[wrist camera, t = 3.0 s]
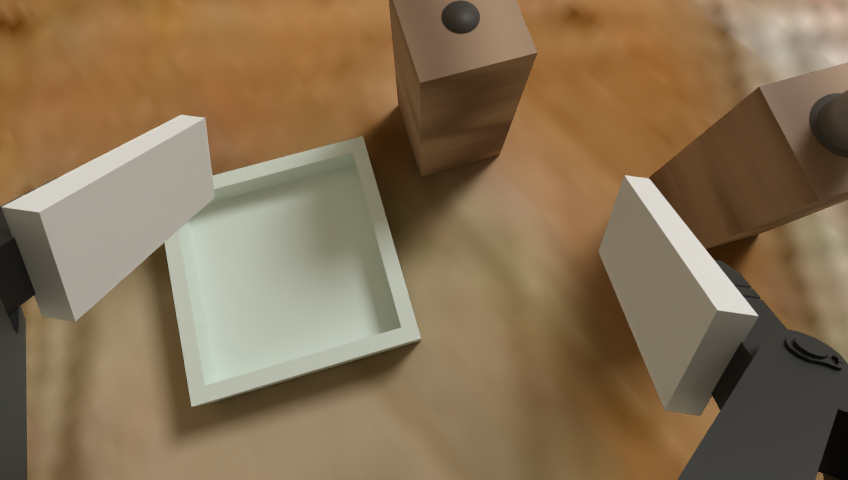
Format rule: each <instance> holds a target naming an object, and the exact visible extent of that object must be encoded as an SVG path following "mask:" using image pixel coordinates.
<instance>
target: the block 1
mask: <svg viewBox="0 0 848 480" xmlns="http://www.w3.org/2000/svg"><path fill="white" fill-rule="evenodd" d="M389 7H390V18H391V29H392V40H393V51H394V62H395V73H396V84H397V95H398V105H399V108H400V112H401V115H402V118H403V121H404V124H405V128H406V131H407V134H408V137H409V141H410V144H411V147H412V150H413V153H414V157H415V160H416V163H417V166H418V169H419V173H420V176H425V175H429V174H432V173H436V172H440V171H443V170H447V169H451V168H454V167H458V166H462V165H465V164H469V163H473V162H476V161H480V160H484V159H487V158H491V157H495V156H498V155H500V152H501V150H502V147H503V144H504V142H505V139H506V136H507V133H508V131H509V128H510V125H511V123H512V120H513V117H514V115H515V112H516V109H517V106H518V104H519V101H520V98H521V96H522V93H523V90H524V87H525V85H526V82H527V79H528V77H529V74H530V71H531V69H532V66H533V63H534V60H535V58H536V55H537V50H536V48H535V45H534V43H533V41H532V38H531V36H530V33H529V31H528V28H527V26H526V23H525V21H524V18H523V16H522V13H521V11H520V8H519V6H518V3H517V1H516V0H389Z"/></svg>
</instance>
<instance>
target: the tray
mask: <svg viewBox="0 0 848 480" xmlns="http://www.w3.org/2000/svg"><path fill="white" fill-rule="evenodd" d="M212 177H213V186H214V194H215V198H214V199H212V200H211V201H210V202H209V203H208V204H207V205H206V206H205V207H203V208H202V209H201V210H200V211H199V212H198V213H197V214H196V215H194V216H193V217H192V218H191V219H190V220H189V221H188V222H187V223H185V224H184V225H183V226H182V227H181V228H180V229H179V230H178V231H177V232H175V233H174V234H173V235H172V236H171V237H170V238H169V239H168V240H166V241H165V242H164V243H165V249H166V255H167V261H168V267H169V273H170V279H171V285H172V291H173V298H174V304H175V310H176V316H177V322H178V328H179V334H180V340H181V346H182V352H183V358H184V364H185V370H186V377H187V383H188V389H189V395H190V401H191V407H194V406H199V405H205V404H210V403H214V402H218V401H221V400H224V399H228V398H231V397H234V396H238V395H241V394H244V393H248V392H251V391H254V390H258V389H261V388H264V387H268V386H271V385H275V384H278V383H281V382H285V381H288V380H291V379H295V378H298V377H301V376H305V375H308V374H311V373H315V372H318V371H321V370H325V369H328V368H331V367H335V366H338V365H341V364H345V363H348V362H351V361H355V360H358V359H361V358H365V357H368V356H371V355H375V354H378V353H381V352H385V351H388V350H392V349H395V348H398V347H402V346H405V345H408V344H412V343H415V342H418V341H421V337H420V334H419V330H418V327H417V323H416V320H415V316H414V313H413V309H412V306H411V302H410V299H409V295H408V292H407V288H406V285H405V281H404V278H403V274H402V271H401V267H400V264H399V260H398V257H397V253H396V250H395V246H394V243H393V239H392V236H391V232H390V229H389V225H388V222H387V218H386V215H385V211H384V208H383V204H382V201H381V197H380V194H379V190H378V187H377V183H376V180H375V176H374V173H373V169H372V166H371V162H370V159H369V155H368V152H367V148H366V145H365V141H364V138H363V136H361V137H357V138H354V139H350V140H346V141H342V142H338V143H335V144H331V145H327V146H323V147H320V148H316V149H312V150H308V151H304V152H301V153H297V154H293V155H289V156H285V157H282V158H278V159H274V160H270V161H267V162H263V163H259V164H255V165H251V166H248V167H244V168H240V169H236V170H232V171H229V172H225V173H221V174H217V175H214V176H212Z"/></svg>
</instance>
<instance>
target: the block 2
mask: <svg viewBox="0 0 848 480" xmlns="http://www.w3.org/2000/svg"><path fill="white" fill-rule="evenodd" d="M648 179H650V180H651V181H652V182H653V184H654V185H655V186H656V188H657V189H658V190H659V191H660V193H661V194H662V195H663V196H664V198H665V199H666V200H667V201H668V203H669V204H670V205H671V206H672V208H673V209H674V210H675V211H676V213H677V214H678V215H679V216H680V218H681V219H682V220H683V221H684V223H685V224H686V225H687V227H688V228H689V229H690V230H691V232H692V233H693V234H694V235H695V237H696V238H697V239H698V240H699V242H700V243H701V244H702V245H703V247H704V248H705V249H706V250H707V249H711V248H714V247H717V246H721V245H724V244H727V243H731V242H734V241H738V240H741V239H744V238H748V237H751V236H754V235H758V234H761V233H763V232H766V231H768V230H771V229H774V228H776V227H779V226H781V225H784V224H786V223H789V222H792V221H794V220H797V219H799V218H802V217H804V216H807V215H810V214H812V213H815V212H817V211H820V210H823V209H825V208H828V207H830V206H833V205H835V204H838V203H841V202H843V201H846V200H848V63H844V64H841V65H837V66H833V67H830V68H826V69H822V70H819V71H815V72H811V73H808V74H804V75H800V76H797V77H793V78H789V79H786V80H782V81H778V82H775V83H771V84H767V85H764V86H760V87H758V88H757V89H756V90H755V91H753V92H752V93H751V94H750V95H749V96H747V97H746V98H745V99H744V100H743V101H741V102H740V103H739V104H738V105H737V106H735V107H734V108H733V109H732V110H730V111H729V112H728V113H727V114H726V115H724V116H723V117H722V118H721V119H720V120H718V121H717V122H716V123H715V124H713V125H712V126H711V127H710V128H709V129H707V130H706V131H705V132H704V133H703V134H701V135H700V136H699V137H698V138H696V139H695V140H694V141H693V142H692V143H690V144H689V145H688V146H687V147H686V148H684V149H683V150H682V151H681V152H680V153H678V154H677V155H676V156H675V157H673V158H672V159H671V160H670V161H669V162H667V163H666V164H665V165H664V166H663V167H661V168H660V169H659V170H658V171H656V172H655V173H654V174H653V175H652V176H650V177H649V178H648Z"/></svg>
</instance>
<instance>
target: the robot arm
mask: <svg viewBox="0 0 848 480" xmlns="http://www.w3.org/2000/svg"><path fill="white" fill-rule="evenodd" d="M214 198H215V194H214V186H213V177H212V169H211V161H210V153H209V145H208V137H207V129H206V121H205V118H202V117H194V116H187V115H180V116H178V117H176V118H174V119H172V120H170V121H168V122H166V123H164V124H162V125H160V126H158V127H156V128H154V129H153V130H151V131H149V132H147V133H145V134H143V135H141V136H139V137H137V138H135V139H133V140H131V141H129V142H127V143H125V144H123V145H121V146H119V147H117V148H115V149H113V150H112V151H110V152H108V153H106V154H104V155H102V156H100V157H98V158H96V159H94V160H92V161H90V162H88V163H86V164H84V165H82V166H80V167H78V168H76V169H74V170H72V171H71V172H69V173H67V174H65V175H63V176H61V177H58V178H55V179H53V180H51V181H49V182H47V183H46V184H44V185H42V186H40V187H39V188H37V189H34V190H32V191H30V192H28V193H26V194H25V195H24V196H20V197H18V198H16V199H14V200H12V201H10V202H8V203H6V204H4V205H2V206H0V480H27V414H26V325H25V317H24V314H23V312H22V309H21V307H20V305H22V304H23V303H24V302H26V301H27V300H28V299H30V298H31V297H32V296H35V298H36V301H37V304H38V306H39V309H40V312H41V314H42V317H48V318H55V319H62V320H68V321H75V322H76V321H77V320H78V319H79V318H80V317H81V316H82V315H83V314H85V313H86V312H87V311H88V310H89V309H90V308H91V307H92V306H94V305H95V304H96V303H97V302H98V301H99V300H100V299H101V298H102V297H104V296H105V295H106V294H107V293H108V292H109V291H110V290H111V289H113V288H114V287H115V286H116V285H117V284H118V283H119V282H120V281H122V280H123V279H124V278H125V277H126V276H127V275H128V274H129V273H131V272H132V271H133V270H134V269H135V268H136V267H137V266H138V265H140V264H141V263H142V262H143V261H144V260H145V259H146V258H147V257H148V256H150V255H151V254H152V253H153V252H154V251H155V250H156V249H157V248H159V247H160V246H161V245H162V244H163V243H164V242H165V241H166V240H168V239H169V238H170V237H171V236H172V235H173V234H174V233H175V232H177V231H178V230H179V229H180V228H181V227H182V226H183V225H184V224H185V223H187V222H188V221H189V220H190V219H191V218H192V217H193V216H194V215H196V214H197V213H198V212H199V211H200V210H201V209H202V208H203V207H205V206H206V205H207V204H208V203H209V202H210V201H211V200H212V199H214ZM598 252H599V254H600V257H601V259H602V262H603V264H604V266H605V269H606V271H607V274H608V276H609V278H610V281H611V283H612V286H613V288H614V290H615V293H616V295H617V298H618V300H619V302H620V305H621V307H622V310H623V312H624V314H625V317H626V319H627V321H628V324H629V326H630V329H631V331H632V333H633V336H634V338H635V341H636V343H637V345H638V348H639V350H640V353H641V355H642V357H643V360H644V362H645V365H646V367H647V369H648V372H649V374H650V377H651V379H652V381H653V384H654V386H655V389H656V391H657V393H658V396H659V398H660V401H661V403H662V405H663V408H664V410H665V411H672V412H679V413H685V414H692V415H699V416H700V415H701V414H702V412H703V410H704V409H705V407H706V405H707V404H708V402H709V400H710V398H711V397H712V396H713V398H714V399H715V401H716V403H717V405H718V407H719V409H720V410H721V411H720V412H719V414H718V416H717V417H716V419H715V420H714V422H713V424H712V425H711V427H710V428H709V430H708V432H707V433H706V435H705V436H704V438H703V440H702V441H701V443H700V444H699V446H698V448H697V449H696V451H695V452H694V454H693V456H692V457H691V459H690V460H689V462H688V464H687V465H686V467H685V469H684V470H683V472H682V473H681V475H680V477H679V478H678V480H815V478H816V475H817V472H818V471H819V472H821V473H823V477H824V480H848V364H847V363H846V361H845V360H844V359H843V357H842V356H841V355H840V354H839V353H837V352H836V351H835V350H833V349H832V348H831V347H830V346H828V345H826V344H825V343H823V342H821V341H819V340H817V339H816V338H814V337H811V336H809V335H806V334H803V333H801V332H797V331H792V330H788V329H786V327H785V326H784V325H783V324H782V323H781V321H780V320H779V319H778V318H777V317H776V316H775V314H774V313H773V312H772V311H771V310H770V308H769V307H768V306H767V305H766V304H765V302H764V301H763V300H760V297H759V295H758V294H757V293H756V292H755V291H754V289H751V286H750V285H749V284H748V282H747V281H746V280H745V279H744V278H743V276H742V275H741V274H740V273H739V272H737V271H736V270H734V269H733V268H731V267H730V266H729V265H727V264H726V263H724V262H723V261H718V260H714V259H713V258H712V257H711V255H710V254H709V253H708V252H707V250H706V249H705V248H704V247H703V245H702V244H701V243H700V242H699V240H698V239H697V238H696V237H695V235H694V234H693V233H692V232H691V230H690V229H689V228H688V227H687V225H686V224H685V223H684V221H683V220H682V219H681V218H680V216H679V215H678V214H677V213H676V211H675V210H674V209H673V208H672V206H671V205H670V204H669V203H668V201H667V200H666V199H665V198H664V196H663V195H662V194H661V193H660V191H659V190H658V189H657V188H656V186H655V185H654V184H653V182H652V181H651V180H650V179H648V178H640V177H633V176H626V175H624V178H623V181H622V184H621V187H620V190H619V193H618V195H617V198H616V201H615V204H614V207H613V210H612V213H611V216H610V219H609V222H608V225H607V228H606V231H605V233H604V236H603V239H602V242H601V245H600V248H599V251H598Z"/></svg>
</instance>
